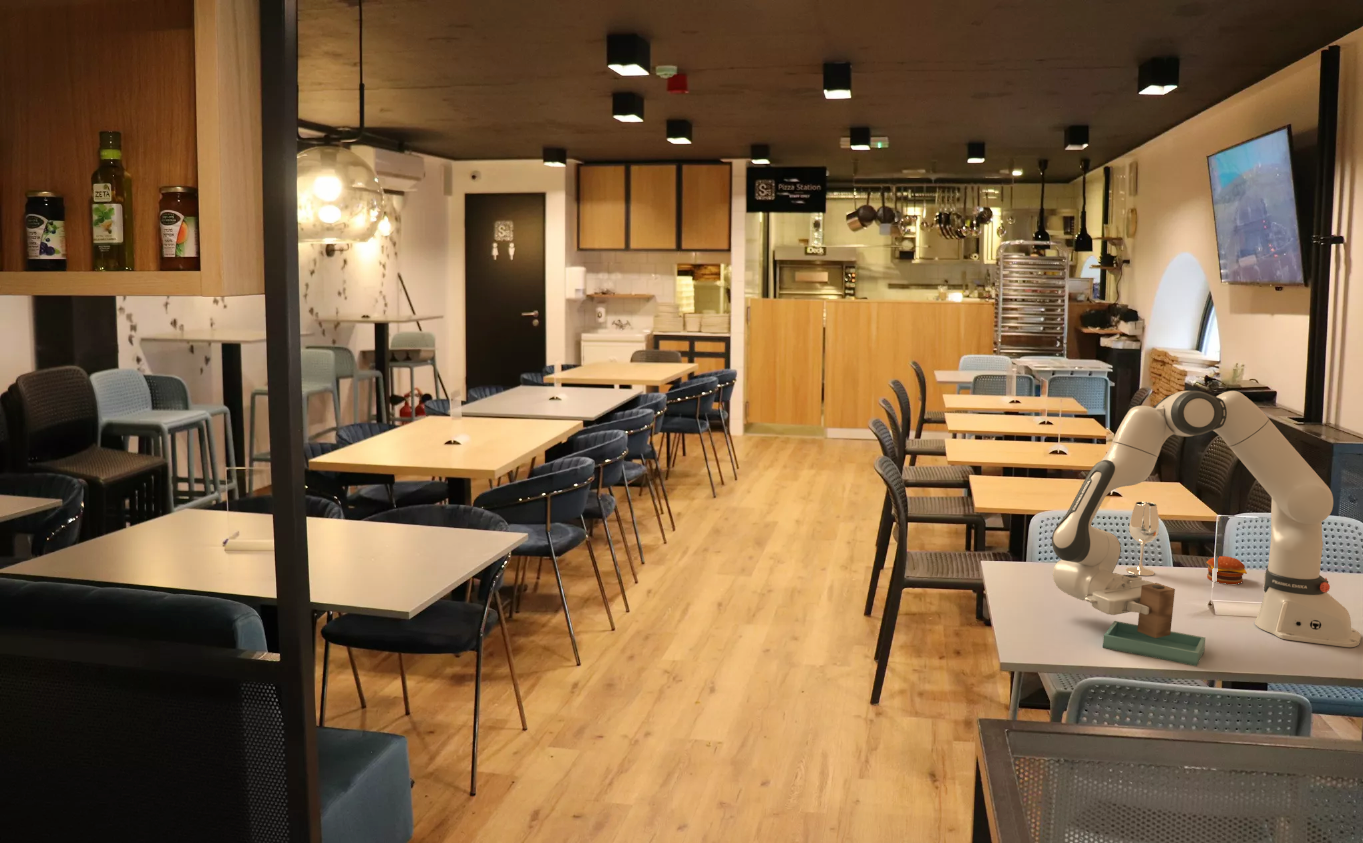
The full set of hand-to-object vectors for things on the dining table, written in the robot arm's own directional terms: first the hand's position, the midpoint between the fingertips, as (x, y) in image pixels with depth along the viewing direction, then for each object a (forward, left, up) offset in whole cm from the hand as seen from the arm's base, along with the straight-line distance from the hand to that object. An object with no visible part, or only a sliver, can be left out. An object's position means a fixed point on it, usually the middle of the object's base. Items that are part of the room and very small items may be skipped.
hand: (1159, 609), depth 257 cm
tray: (+1, 0, -10) cm, 10 cm away
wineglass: (+15, -64, -10) cm, 67 cm away
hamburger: (-6, -70, -10) cm, 71 cm away
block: (+1, 0, -6) cm, 6 cm away
